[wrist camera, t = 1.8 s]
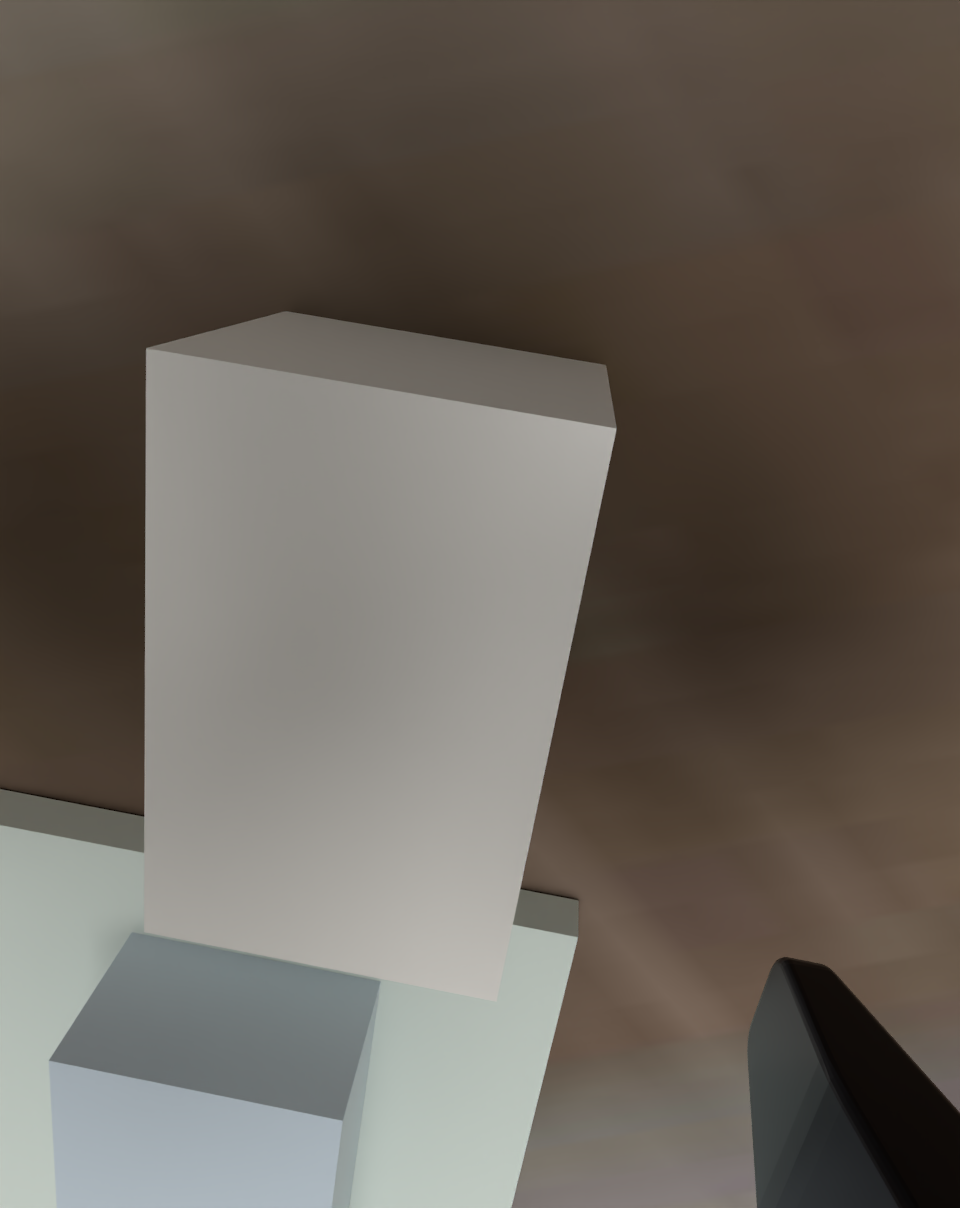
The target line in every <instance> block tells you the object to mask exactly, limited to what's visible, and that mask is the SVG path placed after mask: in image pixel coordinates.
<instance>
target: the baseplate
mask: <svg viewBox="0 0 960 1208" xmlns="http://www.w3.org/2000/svg"><path fill="white" fill-rule="evenodd" d="M577 940H578V900H573V899H568V898H563V897H558V896H553V895H547V894H542V893H537V892H532V891H527V890H521V889H520V892H519V897H518V902H517V906H516V911H515V916H514V921H513V925H512V930H511V935H510V940H509V944H508V949H507V954H506V959H505V964H504V968H503V973H502V978H501V983H500V987H499V992H498V997H497V1002H495V1001H490V1000H485V999H480V998H475V997H470V996H465V995H460V994H455V993H450V992H445V991H440V990H435V989H430V988H424V987H419V986H414V985H409V984H404V983H399V982H394V981H389V980H384V979H379V978H374V977H369V976H364V975H359V974H354V973H348V972H343V971H338V970H333V969H328V968H323V967H318V966H313V965H308V964H303V963H298V962H293V961H288V960H283V959H278V958H272V957H267V956H262V955H257V954H252V953H247V952H242V951H237V950H232V949H227V948H222V947H217V946H212V945H207V944H202V943H196V942H191V941H186V940H181V939H176V938H171V937H166V936H161V935H156V934H151V933H146V932H144V817H143V816H137V815H132V814H127V813H122V812H117V811H111V810H106V809H101V808H96V807H91V806H85V805H80V804H75V803H70V802H65V801H59V800H54V799H49V798H44V797H39V796H34V795H28V794H23V793H18V792H13V791H8V790H2V789H0V1208H511V1207H512V1202H513V1198H514V1194H515V1190H516V1186H517V1182H518V1178H519V1174H520V1170H521V1166H522V1162H523V1158H524V1154H525V1150H526V1146H527V1142H528V1138H529V1134H530V1130H531V1126H532V1122H533V1118H534V1114H535V1110H536V1106H537V1101H538V1097H539V1093H540V1089H541V1085H542V1081H543V1077H544V1073H545V1069H546V1065H547V1061H548V1057H549V1053H550V1049H551V1045H552V1041H553V1037H554V1033H555V1029H556V1025H557V1021H558V1017H559V1013H560V1009H561V1004H562V1000H563V996H564V992H565V988H566V984H567V980H568V976H569V972H570V968H571V964H572V960H573V956H574V952H575V948H576V944H577Z"/></svg>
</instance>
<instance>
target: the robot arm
mask: <svg viewBox="0 0 960 1208" xmlns="http://www.w3.org/2000/svg"><path fill="white" fill-rule="evenodd" d="M748 1071H749V1086H750V1102H751V1118H752V1134H753V1150H754V1166H755V1182H756V1198H757V1208H960V1112H959V1111H958V1110H957V1109H956V1108H955V1107H954V1106H953V1104H952V1103H951V1102H950V1101H949V1100H948V1099H947V1098H946V1097H945V1095H944V1094H943V1093H942V1092H941V1091H940V1090H939V1089H938V1088H937V1087H936V1085H935V1084H934V1083H933V1082H932V1081H931V1080H930V1079H929V1078H928V1076H927V1075H926V1074H925V1073H924V1072H923V1071H922V1070H921V1069H920V1068H919V1066H918V1065H917V1064H916V1063H915V1062H914V1061H913V1060H912V1059H911V1057H910V1056H909V1055H908V1054H907V1053H906V1052H905V1051H904V1050H903V1049H902V1047H901V1046H900V1045H899V1044H898V1043H897V1042H896V1041H895V1040H894V1038H893V1037H892V1036H891V1035H890V1034H889V1033H888V1032H887V1031H886V1030H885V1028H884V1027H883V1026H882V1025H881V1024H880V1023H879V1022H878V1021H877V1019H876V1018H875V1017H874V1016H873V1015H872V1014H871V1013H870V1012H869V1010H868V1009H867V1008H866V1007H865V1006H864V1005H863V1004H862V1003H861V1002H860V1000H859V999H858V998H857V997H856V996H855V995H854V994H853V993H852V991H851V990H850V989H849V988H848V987H847V986H846V985H845V984H844V983H843V981H842V980H841V979H840V978H839V977H838V976H837V975H836V974H835V973H834V972H833V971H832V970H831V969H830V968H829V967H827V966H825V965H823V964H819V963H814V962H809V961H804V960H799V959H794V958H789V957H783V958H780V959H778V960H777V961H776V962H775V963H774V965H773V966H772V968H771V971H770V973H769V976H768V979H767V982H766V984H765V987H764V990H763V993H762V995H761V998H760V1001H759V1004H758V1006H757V1009H756V1012H755V1015H754V1017H753V1020H752V1023H751V1026H750V1031H749V1037H748Z"/></svg>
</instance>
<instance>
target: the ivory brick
mask: <svg viewBox="0 0 960 1208" xmlns="http://www.w3.org/2000/svg"><path fill="white" fill-rule="evenodd" d="M616 430H617V427H616V421H615V416H614V410H613V404H612V398H611V392H610V386H609V380H608V374H607V368H606V365H603V364H597V363H591V362H585V361H579V360H573V359H567V358H561V357H555V356H550V355H544V354H538V353H532V352H526V351H520V350H514V349H508V348H502V347H496V346H490V345H484V344H478V343H472V342H466V341H460V340H454V339H448V338H443V337H437V336H431V335H425V334H419V333H413V332H407V331H401V330H395V329H389V328H383V327H377V326H371V325H365V324H359V323H353V322H347V321H342V320H336V319H330V318H324V317H318V316H312V315H306V314H300V313H294V312H288V311H285V312H281V313H277V314H273V315H270V316H266V317H262V318H258V319H254V320H251V321H247V322H243V323H239V324H236V325H232V326H228V327H224V328H220V329H217V330H213V331H209V332H205V333H202V334H198V335H194V336H190V337H186V338H183V339H179V340H175V341H171V342H168V343H164V344H160V345H156V346H152V347H149V348H146V517H145V801H144V932H146V933H151V934H156V935H161V936H166V937H171V938H176V939H181V940H186V941H191V942H196V943H202V944H207V945H212V946H217V947H222V948H227V949H232V950H237V951H242V952H247V953H252V954H257V955H262V956H267V957H272V958H278V959H283V960H288V961H293V962H298V963H303V964H308V965H313V966H318V967H323V968H328V969H333V970H338V971H343V972H348V973H354V974H359V975H364V976H369V977H374V978H379V979H384V980H389V981H394V982H399V983H404V984H409V985H414V986H419V987H424V988H430V989H435V990H440V991H445V992H450V993H455V994H460V995H465V996H470V997H475V998H480V999H485V1000H490V1001H495V1002H497V997H498V992H499V987H500V983H501V978H502V973H503V968H504V964H505V959H506V954H507V949H508V944H509V940H510V935H511V930H512V925H513V921H514V916H515V911H516V906H517V902H518V897H519V892H520V887H521V882H522V878H523V873H524V868H525V863H526V859H527V854H528V849H529V844H530V840H531V835H532V830H533V825H534V821H535V816H536V811H537V806H538V801H539V797H540V792H541V787H542V782H543V778H544V773H545V768H546V763H547V759H548V754H549V749H550V744H551V739H552V735H553V730H554V725H555V720H556V716H557V711H558V706H559V701H560V697H561V692H562V687H563V682H564V677H565V673H566V668H567V663H568V658H569V654H570V649H571V644H572V639H573V635H574V630H575V625H576V620H577V615H578V611H579V606H580V601H581V596H582V592H583V587H584V582H585V577H586V573H587V568H588V563H589V558H590V554H591V549H592V544H593V539H594V534H595V530H596V525H597V520H598V515H599V511H600V506H601V501H602V496H603V492H604V487H605V482H606V477H607V472H608V468H609V463H610V458H611V453H612V449H613V444H614V439H615V434H616Z"/></svg>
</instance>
